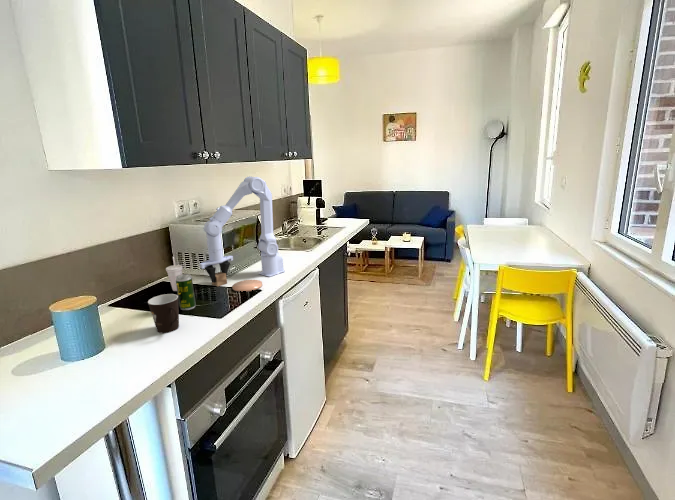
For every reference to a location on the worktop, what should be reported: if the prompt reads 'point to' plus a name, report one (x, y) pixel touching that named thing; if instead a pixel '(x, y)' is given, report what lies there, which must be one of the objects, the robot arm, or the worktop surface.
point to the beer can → (185, 292)
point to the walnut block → (220, 279)
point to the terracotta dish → (247, 285)
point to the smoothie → (174, 274)
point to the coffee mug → (165, 312)
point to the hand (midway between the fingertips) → (219, 280)
